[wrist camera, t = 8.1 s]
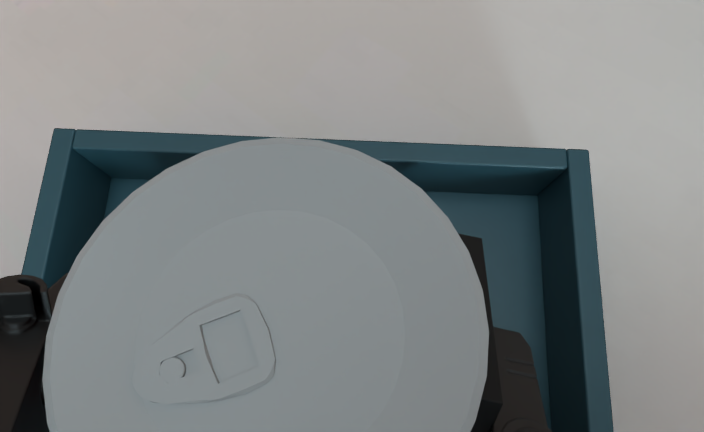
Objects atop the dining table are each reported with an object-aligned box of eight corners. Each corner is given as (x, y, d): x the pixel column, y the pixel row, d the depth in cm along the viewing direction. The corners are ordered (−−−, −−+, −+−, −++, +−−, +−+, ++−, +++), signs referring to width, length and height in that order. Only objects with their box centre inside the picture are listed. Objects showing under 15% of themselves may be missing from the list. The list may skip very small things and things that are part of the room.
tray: (551, 182, 22) (589, 148, 18) (577, 573, 18) (631, 625, 14) (100, 163, 22) (53, 127, 18) (27, 544, 18) (-51, 588, 14)
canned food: (174, 331, 20) (-41, 299, 9) (337, 211, 21) (319, 58, 10) (289, 506, 18) (191, 723, 7) (459, 363, 19) (587, 369, 9)
